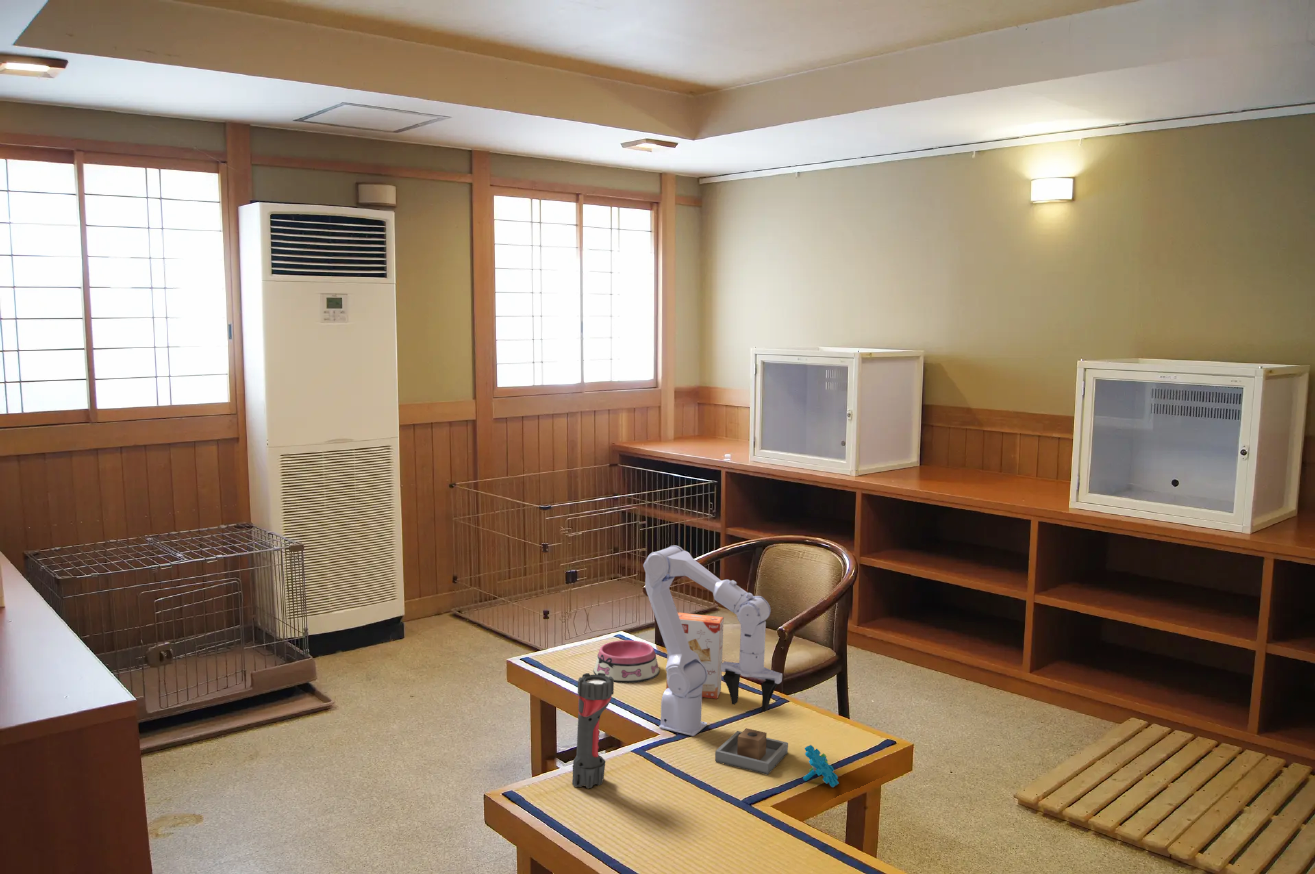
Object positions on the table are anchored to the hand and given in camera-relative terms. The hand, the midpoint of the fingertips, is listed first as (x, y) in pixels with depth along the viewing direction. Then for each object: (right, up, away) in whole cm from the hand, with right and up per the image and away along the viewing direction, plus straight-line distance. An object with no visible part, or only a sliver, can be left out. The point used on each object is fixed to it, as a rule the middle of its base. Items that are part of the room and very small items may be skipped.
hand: (749, 706), depth 224 cm
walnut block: (0, -10, -6) cm, 11 cm away
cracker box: (-12, -6, +32) cm, 35 cm away
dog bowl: (-30, -4, +47) cm, 56 cm away
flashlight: (-35, -11, -19) cm, 41 cm away
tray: (0, -10, -5) cm, 11 cm away
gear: (+14, -12, -16) cm, 24 cm away
